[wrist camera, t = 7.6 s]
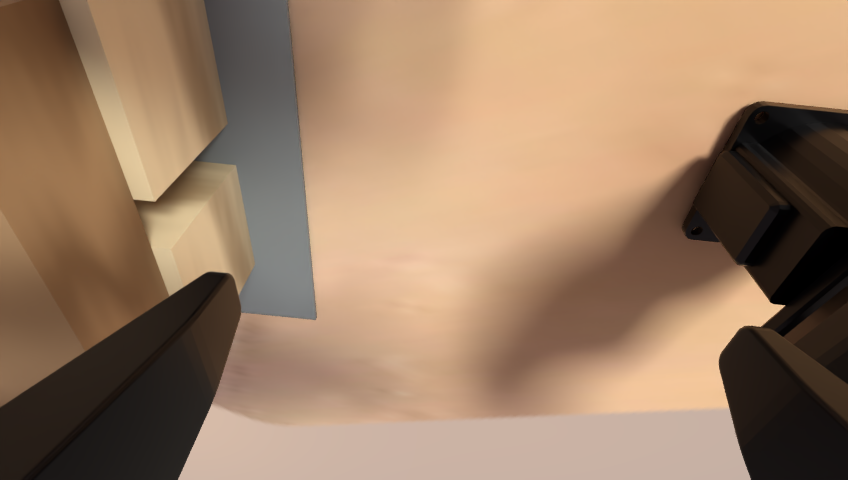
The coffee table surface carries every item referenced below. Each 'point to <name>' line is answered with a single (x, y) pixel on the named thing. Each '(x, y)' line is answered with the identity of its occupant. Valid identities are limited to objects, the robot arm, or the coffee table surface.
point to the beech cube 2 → (199, 226)
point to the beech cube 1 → (150, 83)
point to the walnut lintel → (60, 207)
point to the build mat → (264, 151)
